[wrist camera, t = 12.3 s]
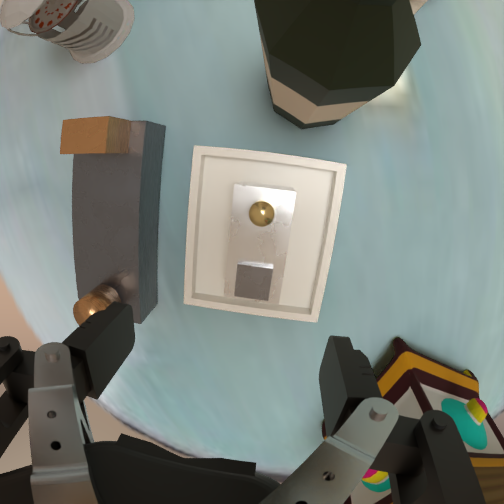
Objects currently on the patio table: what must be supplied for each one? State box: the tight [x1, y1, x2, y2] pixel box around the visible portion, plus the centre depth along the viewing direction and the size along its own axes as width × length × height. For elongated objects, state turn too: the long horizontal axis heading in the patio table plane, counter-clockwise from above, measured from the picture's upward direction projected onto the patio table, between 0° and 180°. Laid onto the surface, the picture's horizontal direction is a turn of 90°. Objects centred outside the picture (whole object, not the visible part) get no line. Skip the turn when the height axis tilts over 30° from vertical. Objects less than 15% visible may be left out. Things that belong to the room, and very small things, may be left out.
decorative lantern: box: [322, 338, 504, 504], centre depth 22 cm, size 20×20×30 cm
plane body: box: [60, 116, 166, 326], centre depth 27 cm, size 20×8×9 cm, turn 174°
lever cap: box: [224, 181, 296, 305], centre depth 27 cm, size 10×5×6 cm, turn 174°
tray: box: [184, 146, 347, 322], centre depth 30 cm, size 16×14×2 cm
